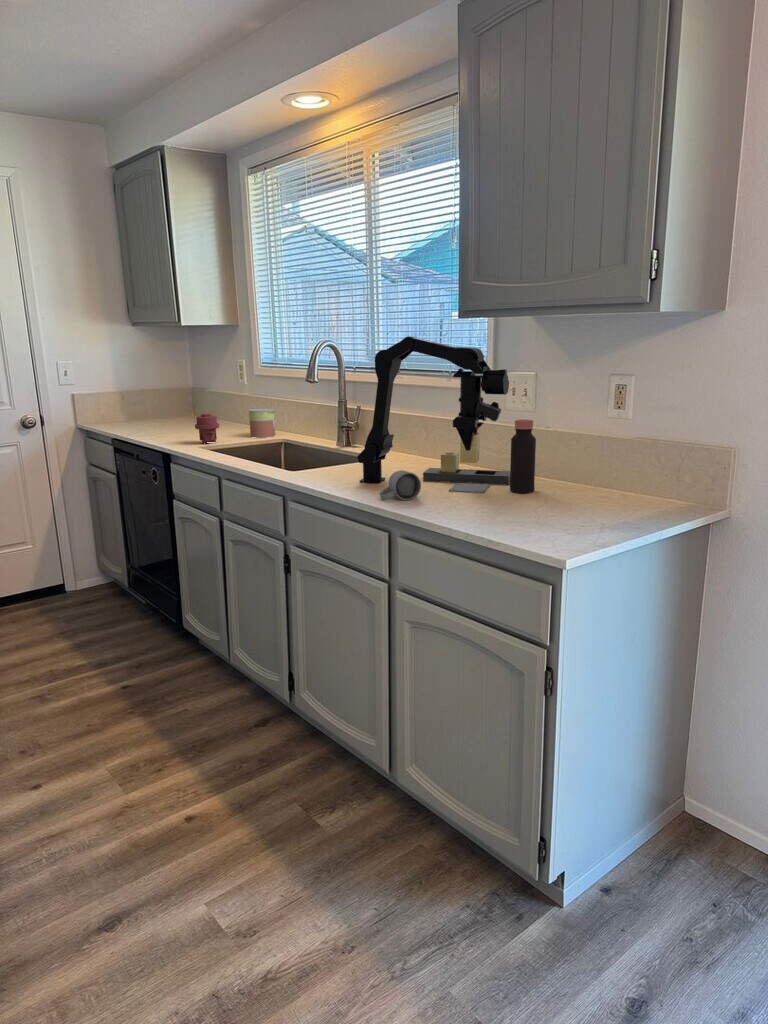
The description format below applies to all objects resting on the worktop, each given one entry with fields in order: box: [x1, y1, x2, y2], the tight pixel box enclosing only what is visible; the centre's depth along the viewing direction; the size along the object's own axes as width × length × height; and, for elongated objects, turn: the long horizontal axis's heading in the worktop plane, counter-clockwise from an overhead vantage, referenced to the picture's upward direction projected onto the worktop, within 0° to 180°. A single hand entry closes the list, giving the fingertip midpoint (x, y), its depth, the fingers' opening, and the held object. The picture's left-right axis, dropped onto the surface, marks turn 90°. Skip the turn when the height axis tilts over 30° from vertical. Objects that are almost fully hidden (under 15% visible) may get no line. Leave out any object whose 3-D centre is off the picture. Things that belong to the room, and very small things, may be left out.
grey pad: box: [448, 482, 491, 494], centre depth 205 cm, size 10×10×1 cm
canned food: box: [248, 407, 277, 439], centre depth 317 cm, size 11×11×12 cm
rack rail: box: [422, 467, 510, 485], centre depth 216 cm, size 8×26×2 cm, turn 72°
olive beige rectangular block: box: [459, 432, 481, 464], centre depth 202 cm, size 5×5×8 cm
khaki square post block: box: [440, 451, 460, 473], centre depth 217 cm, size 5×5×8 cm
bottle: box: [509, 419, 537, 494], centre depth 198 cm, size 7×7×20 cm
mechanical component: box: [194, 413, 220, 444], centre depth 300 cm, size 12×10×10 cm
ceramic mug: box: [378, 469, 422, 501], centre depth 194 cm, size 11×8×8 cm
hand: (469, 449), depth 202 cm, fingers closed on olive beige rectangular block, 5 cm apart
